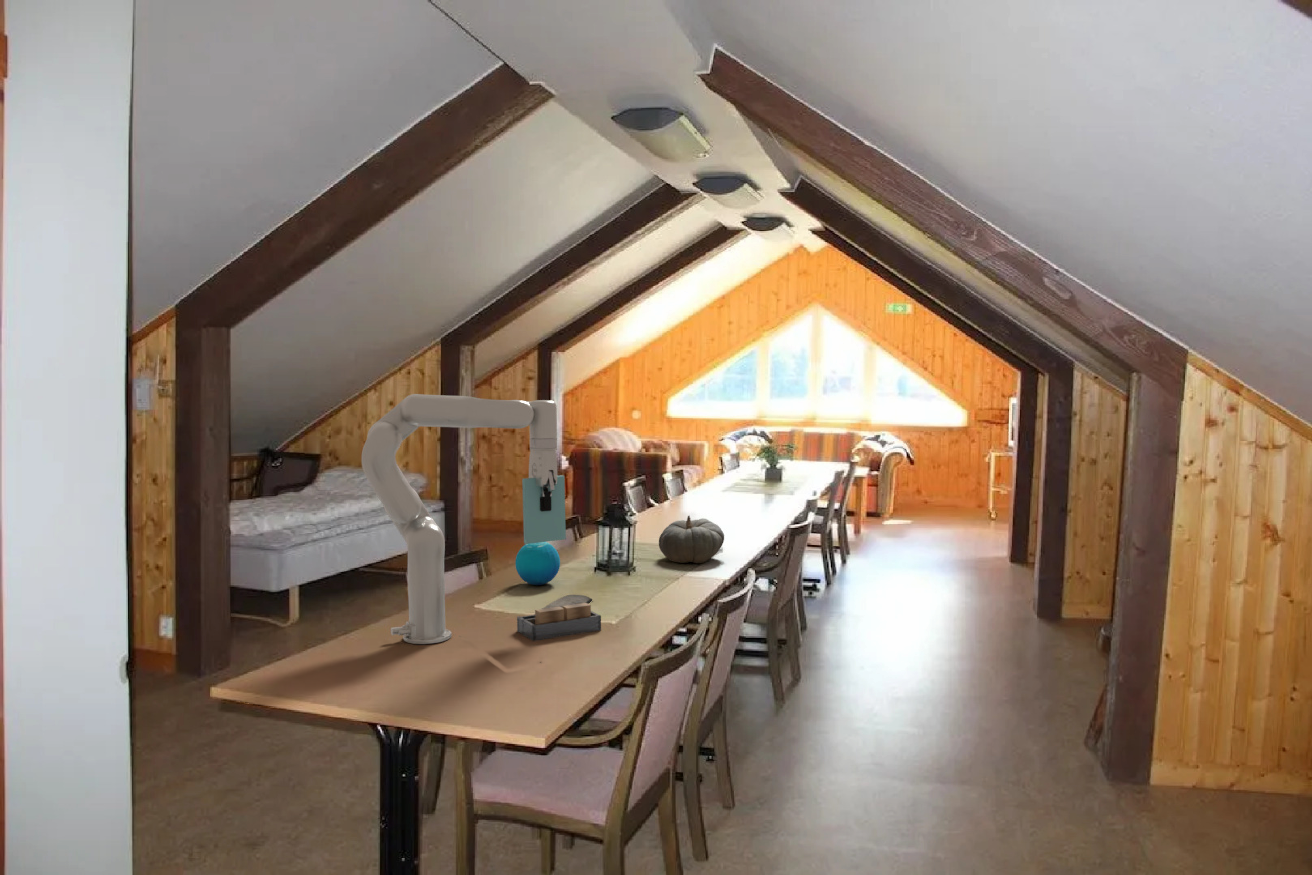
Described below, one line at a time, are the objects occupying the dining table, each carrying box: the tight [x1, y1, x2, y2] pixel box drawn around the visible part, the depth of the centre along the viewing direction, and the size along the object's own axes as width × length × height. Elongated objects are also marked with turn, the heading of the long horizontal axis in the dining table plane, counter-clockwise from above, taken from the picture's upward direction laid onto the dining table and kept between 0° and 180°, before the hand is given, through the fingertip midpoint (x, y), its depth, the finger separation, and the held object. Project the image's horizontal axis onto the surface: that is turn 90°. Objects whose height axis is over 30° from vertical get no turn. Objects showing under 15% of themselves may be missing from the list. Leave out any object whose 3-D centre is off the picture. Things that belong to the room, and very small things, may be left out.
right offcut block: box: [563, 603, 592, 620], centre depth 256 cm, size 7×3×7 cm, turn 120°
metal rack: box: [516, 610, 602, 642], centre depth 257 cm, size 20×11×5 cm, turn 120°
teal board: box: [521, 474, 567, 545], centre depth 262 cm, size 12×2×18 cm, turn 120°
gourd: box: [658, 515, 725, 564], centre depth 357 cm, size 25×25×17 cm
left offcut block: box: [534, 607, 564, 625], centre depth 252 cm, size 7×3×7 cm, turn 120°
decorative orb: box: [515, 541, 561, 586], centre depth 317 cm, size 15×15×15 cm
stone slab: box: [533, 594, 593, 615], centre depth 282 cm, size 10×3×30 cm
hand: (544, 510), depth 262 cm, fingers closed on teal board, 1 cm apart
